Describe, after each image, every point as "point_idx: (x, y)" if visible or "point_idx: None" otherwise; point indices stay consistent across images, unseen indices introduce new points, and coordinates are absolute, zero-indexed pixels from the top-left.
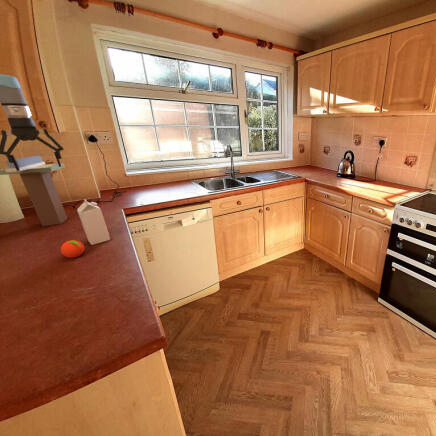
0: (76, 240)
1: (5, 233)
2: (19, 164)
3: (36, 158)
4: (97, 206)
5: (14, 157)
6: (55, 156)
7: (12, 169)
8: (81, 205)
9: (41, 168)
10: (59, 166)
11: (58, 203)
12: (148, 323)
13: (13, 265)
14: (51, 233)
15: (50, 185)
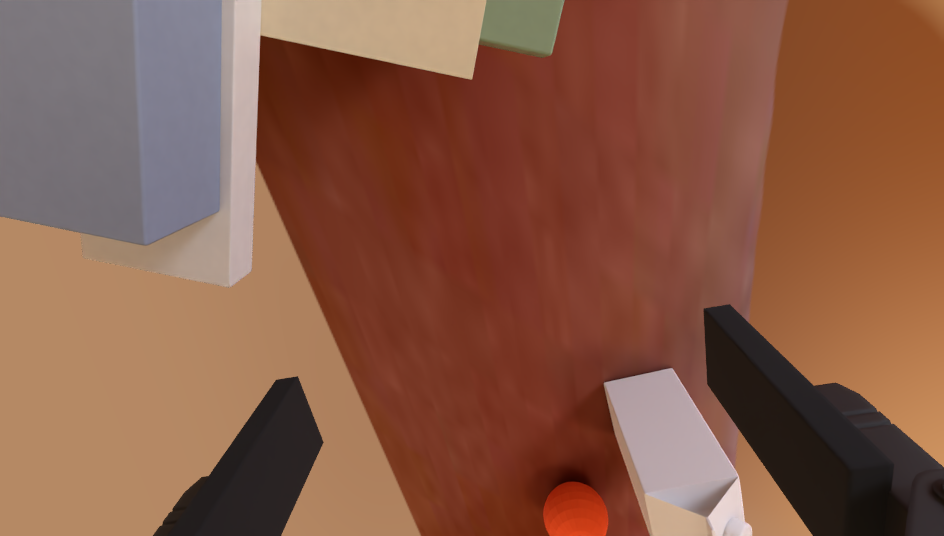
0: (597, 531)
1: None
2: (194, 205)
3: None
4: (740, 500)
5: (214, 513)
6: (790, 499)
7: (172, 269)
8: (677, 514)
9: (425, 31)
10: (713, 386)
11: None
12: None
13: (403, 454)
14: (437, 183)
15: None
